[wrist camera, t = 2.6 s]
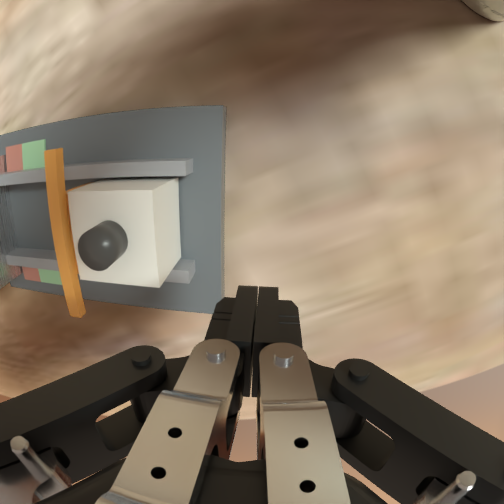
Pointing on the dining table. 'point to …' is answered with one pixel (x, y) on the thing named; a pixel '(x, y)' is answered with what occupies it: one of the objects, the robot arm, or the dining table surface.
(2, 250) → the brushed metal plate
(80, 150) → the tester base
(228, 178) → the dining table surface
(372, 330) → the dining table surface
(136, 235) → the spring plunger
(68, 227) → the peak pointer
